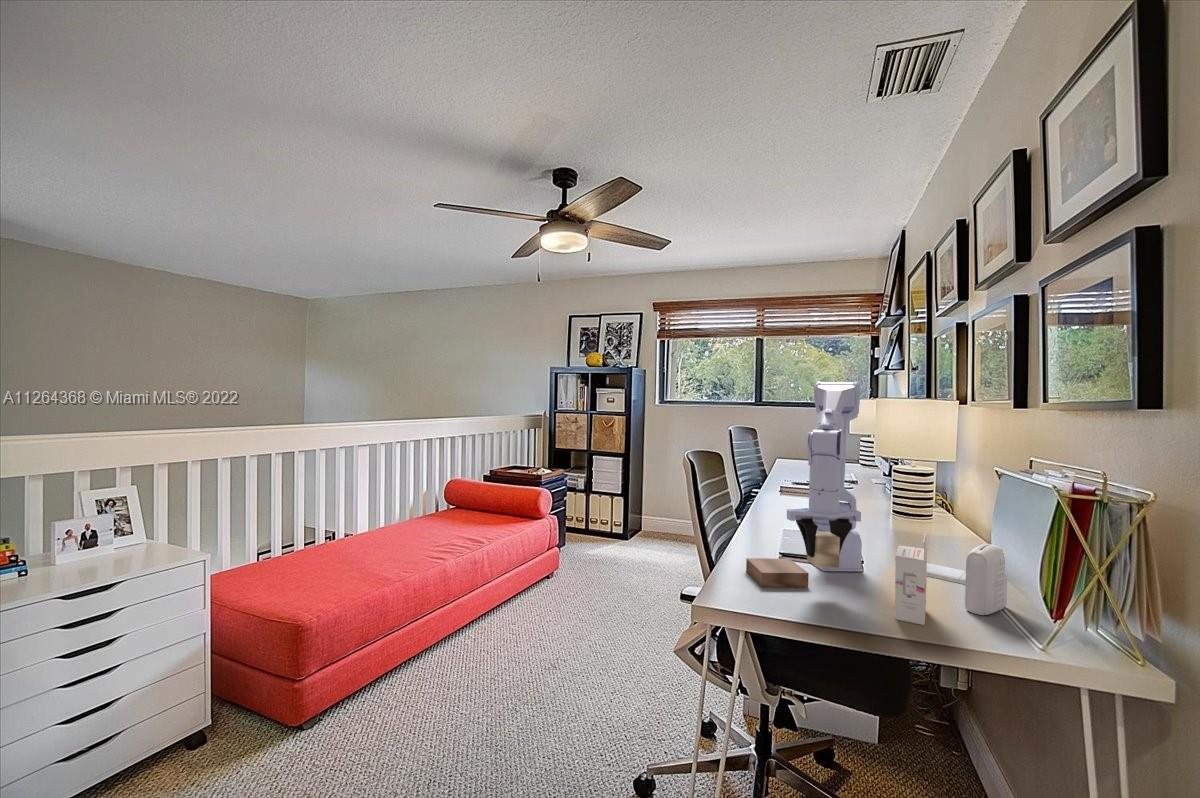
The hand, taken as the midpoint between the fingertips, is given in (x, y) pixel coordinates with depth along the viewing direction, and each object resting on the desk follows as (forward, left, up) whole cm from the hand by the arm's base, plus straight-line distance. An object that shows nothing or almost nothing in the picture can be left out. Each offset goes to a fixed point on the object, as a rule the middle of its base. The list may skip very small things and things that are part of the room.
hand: (822, 555), depth 108 cm
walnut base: (+6, -9, -8) cm, 13 cm away
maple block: (0, 0, -2) cm, 2 cm away
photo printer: (-29, +7, -8) cm, 31 cm away
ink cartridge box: (-12, +10, -8) cm, 18 cm away
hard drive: (-34, -14, -9) cm, 38 cm away
